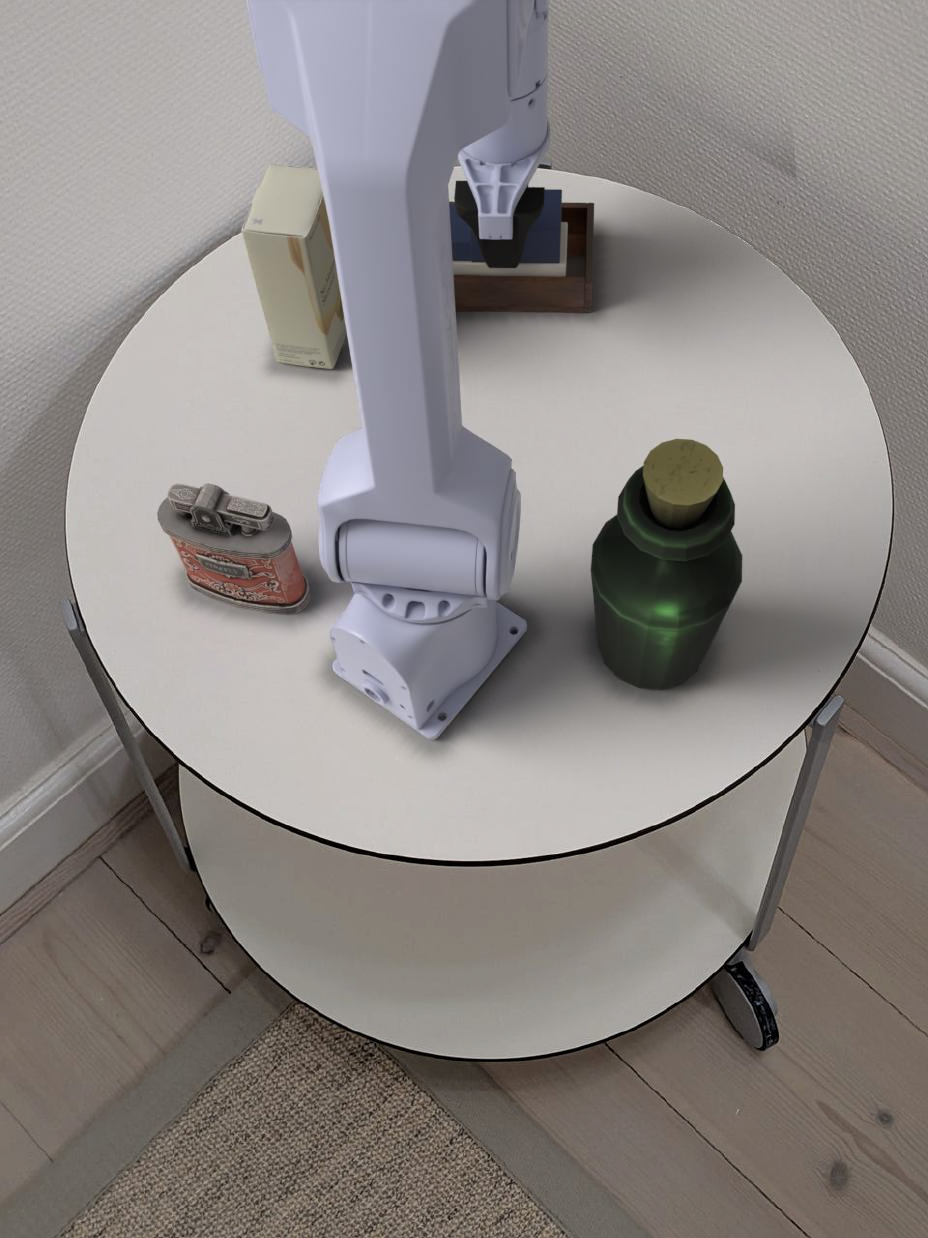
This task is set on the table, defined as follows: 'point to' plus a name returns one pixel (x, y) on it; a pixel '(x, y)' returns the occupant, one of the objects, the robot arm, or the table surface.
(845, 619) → the table surface
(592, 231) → the tray
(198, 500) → the lighter
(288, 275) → the cosmetic box
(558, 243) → the chalkboard eraser
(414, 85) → the robot arm
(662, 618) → the potion bottle
